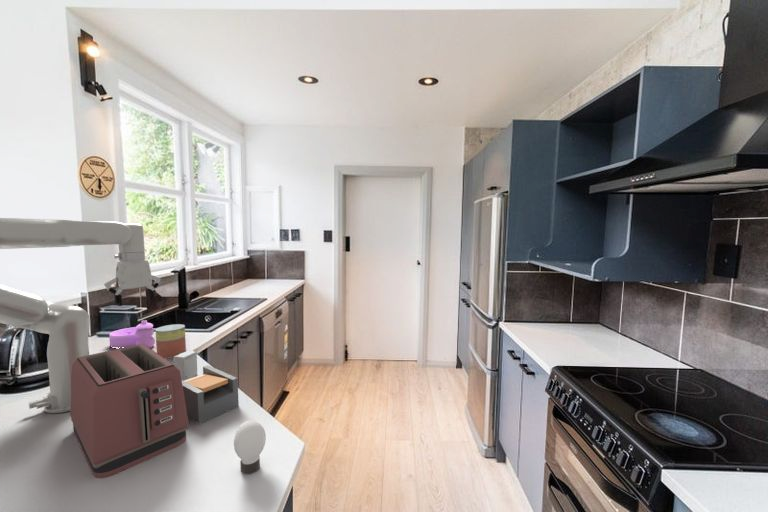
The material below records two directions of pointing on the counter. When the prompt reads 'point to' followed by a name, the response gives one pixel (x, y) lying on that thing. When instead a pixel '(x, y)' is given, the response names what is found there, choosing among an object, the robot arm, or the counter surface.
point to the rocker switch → (206, 382)
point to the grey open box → (211, 397)
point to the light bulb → (249, 445)
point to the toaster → (126, 408)
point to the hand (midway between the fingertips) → (135, 303)
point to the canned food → (170, 340)
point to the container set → (133, 336)
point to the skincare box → (186, 364)
